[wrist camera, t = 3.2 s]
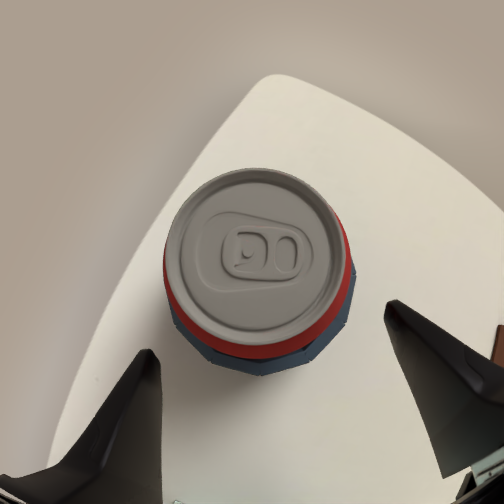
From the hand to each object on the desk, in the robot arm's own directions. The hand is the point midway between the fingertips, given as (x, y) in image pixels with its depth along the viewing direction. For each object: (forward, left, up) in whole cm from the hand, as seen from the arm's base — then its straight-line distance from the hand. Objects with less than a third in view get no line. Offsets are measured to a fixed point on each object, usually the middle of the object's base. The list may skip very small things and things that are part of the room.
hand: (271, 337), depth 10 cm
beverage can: (+2, +1, -10) cm, 10 cm away
